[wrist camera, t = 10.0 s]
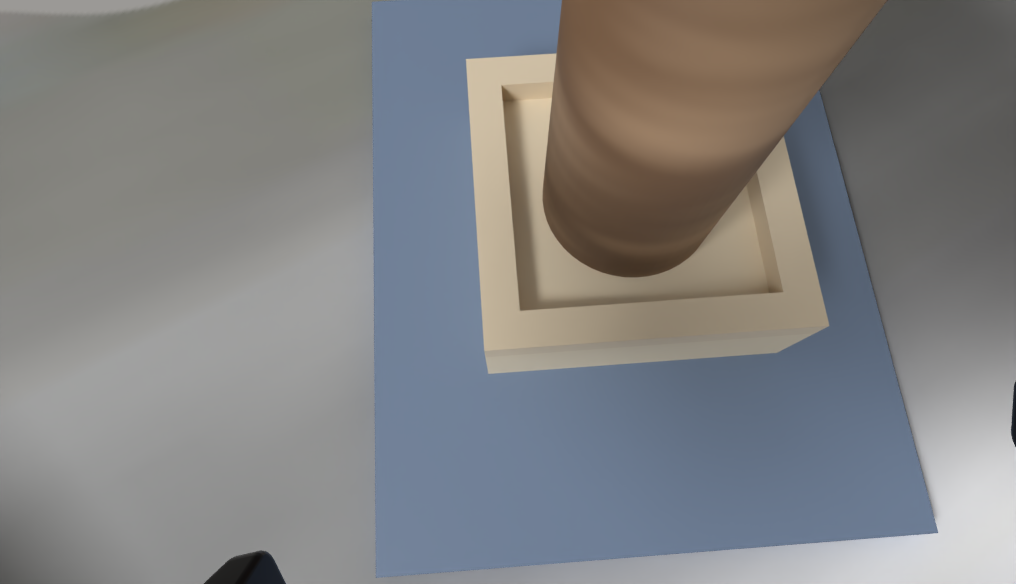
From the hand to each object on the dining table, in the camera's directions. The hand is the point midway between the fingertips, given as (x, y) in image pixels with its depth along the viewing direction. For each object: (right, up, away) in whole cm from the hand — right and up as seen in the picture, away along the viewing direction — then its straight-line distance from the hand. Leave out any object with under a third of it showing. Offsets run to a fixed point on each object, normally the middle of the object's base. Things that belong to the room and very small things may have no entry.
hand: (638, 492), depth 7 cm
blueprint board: (+2, +4, +14) cm, 14 cm away
